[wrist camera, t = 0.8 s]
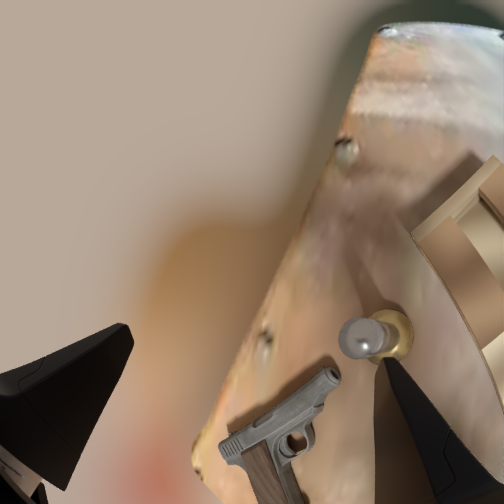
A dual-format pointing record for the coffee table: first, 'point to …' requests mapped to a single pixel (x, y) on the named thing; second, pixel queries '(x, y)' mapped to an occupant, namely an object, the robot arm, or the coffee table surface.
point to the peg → (377, 336)
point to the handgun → (279, 440)
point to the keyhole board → (473, 260)
